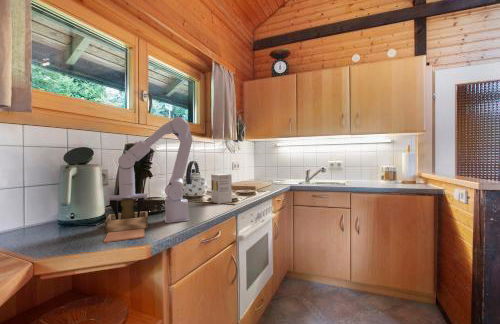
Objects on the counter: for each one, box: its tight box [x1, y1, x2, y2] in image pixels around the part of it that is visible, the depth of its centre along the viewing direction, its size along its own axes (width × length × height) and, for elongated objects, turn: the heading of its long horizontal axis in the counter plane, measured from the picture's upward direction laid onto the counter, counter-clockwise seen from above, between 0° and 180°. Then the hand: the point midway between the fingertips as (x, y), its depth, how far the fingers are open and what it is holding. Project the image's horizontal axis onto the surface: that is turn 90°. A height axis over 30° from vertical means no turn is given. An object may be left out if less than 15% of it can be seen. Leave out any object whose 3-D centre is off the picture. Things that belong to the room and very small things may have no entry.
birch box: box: [104, 210, 149, 234], centre depth 101 cm, size 15×13×4 cm
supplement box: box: [210, 173, 233, 205], centre depth 152 cm, size 10×9×17 cm
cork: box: [119, 198, 136, 220], centre depth 101 cm, size 6×6×11 cm
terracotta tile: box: [103, 228, 145, 244], centre depth 88 cm, size 12×10×1 cm
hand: (127, 217), depth 101 cm, fingers open, 7 cm apart
